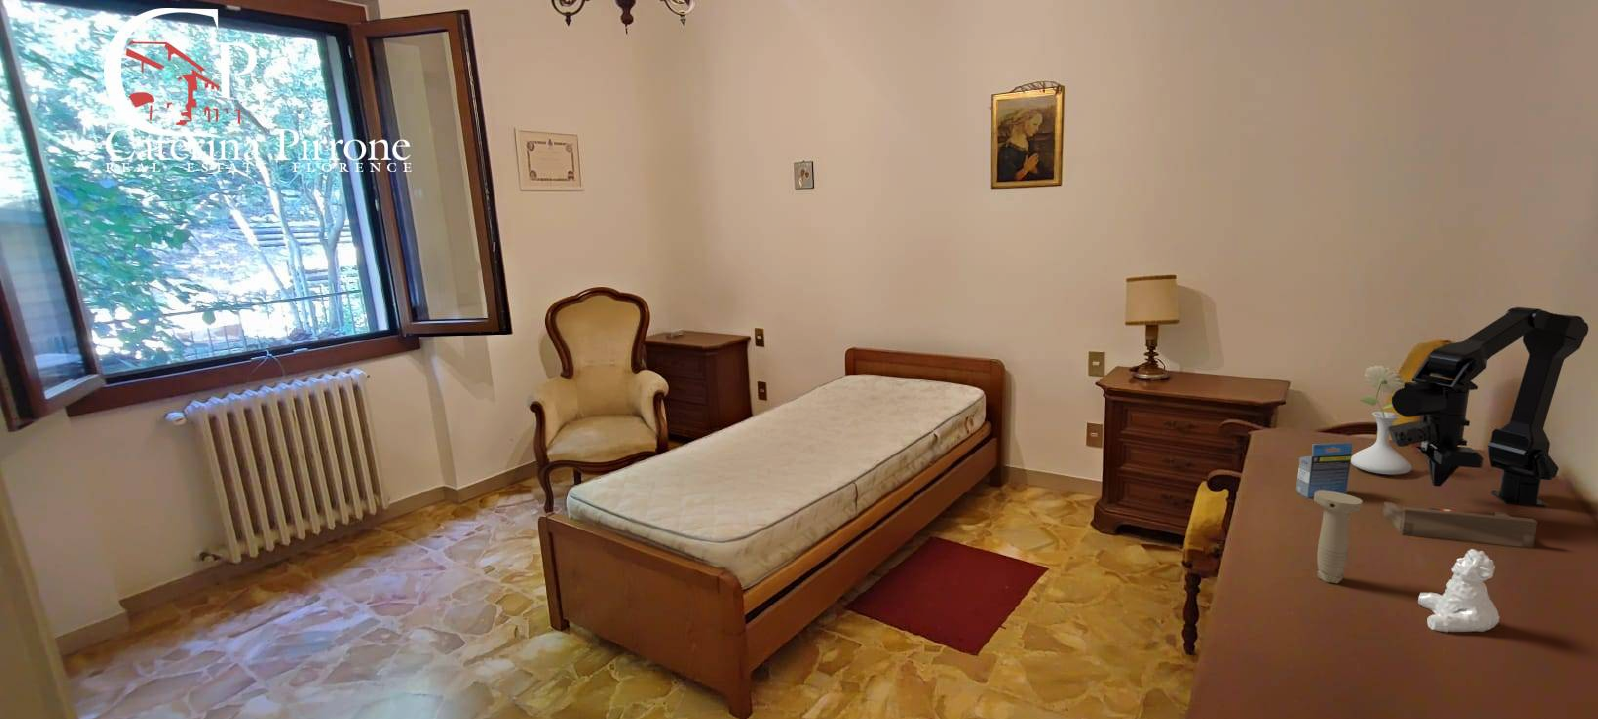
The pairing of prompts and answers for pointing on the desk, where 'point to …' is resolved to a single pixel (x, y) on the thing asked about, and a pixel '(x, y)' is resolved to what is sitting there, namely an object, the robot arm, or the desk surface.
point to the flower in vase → (1382, 428)
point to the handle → (1334, 533)
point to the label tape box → (1324, 469)
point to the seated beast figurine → (1464, 598)
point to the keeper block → (1462, 526)
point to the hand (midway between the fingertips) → (1436, 485)
